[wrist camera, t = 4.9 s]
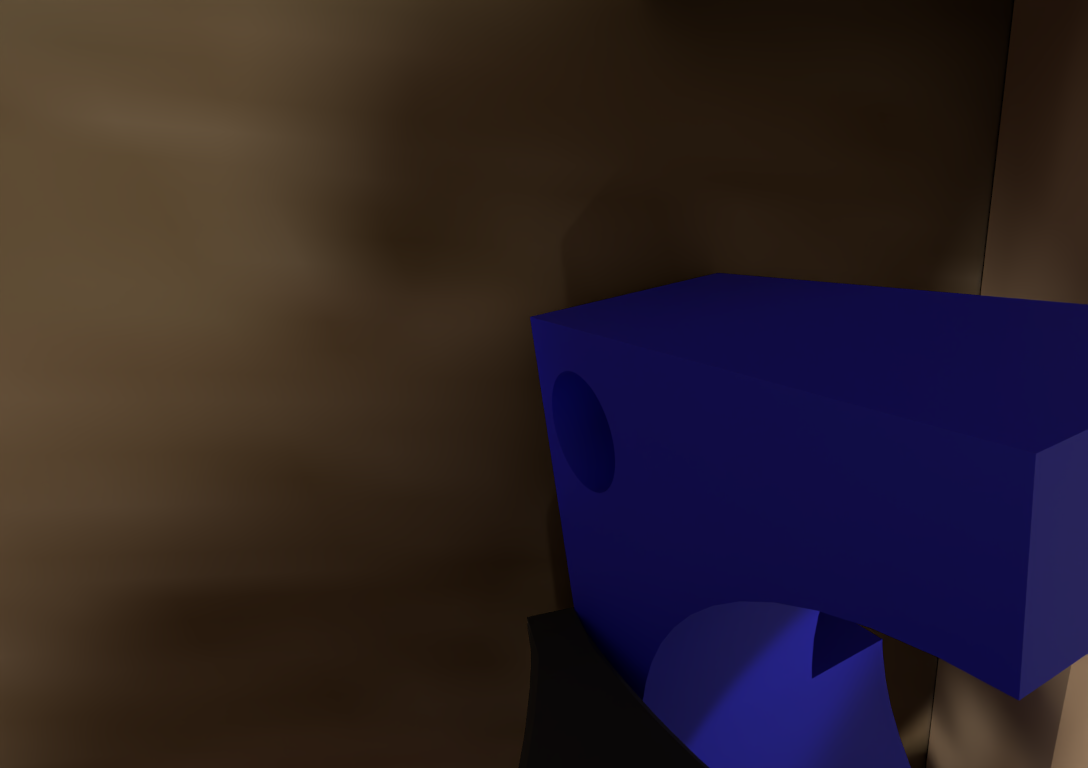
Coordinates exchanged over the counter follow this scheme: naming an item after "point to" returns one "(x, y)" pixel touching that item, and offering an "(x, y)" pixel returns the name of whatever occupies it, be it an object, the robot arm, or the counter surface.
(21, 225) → the counter surface
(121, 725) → the counter surface
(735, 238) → the counter surface
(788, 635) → the cable clip
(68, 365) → the counter surface
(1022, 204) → the wooden rack
